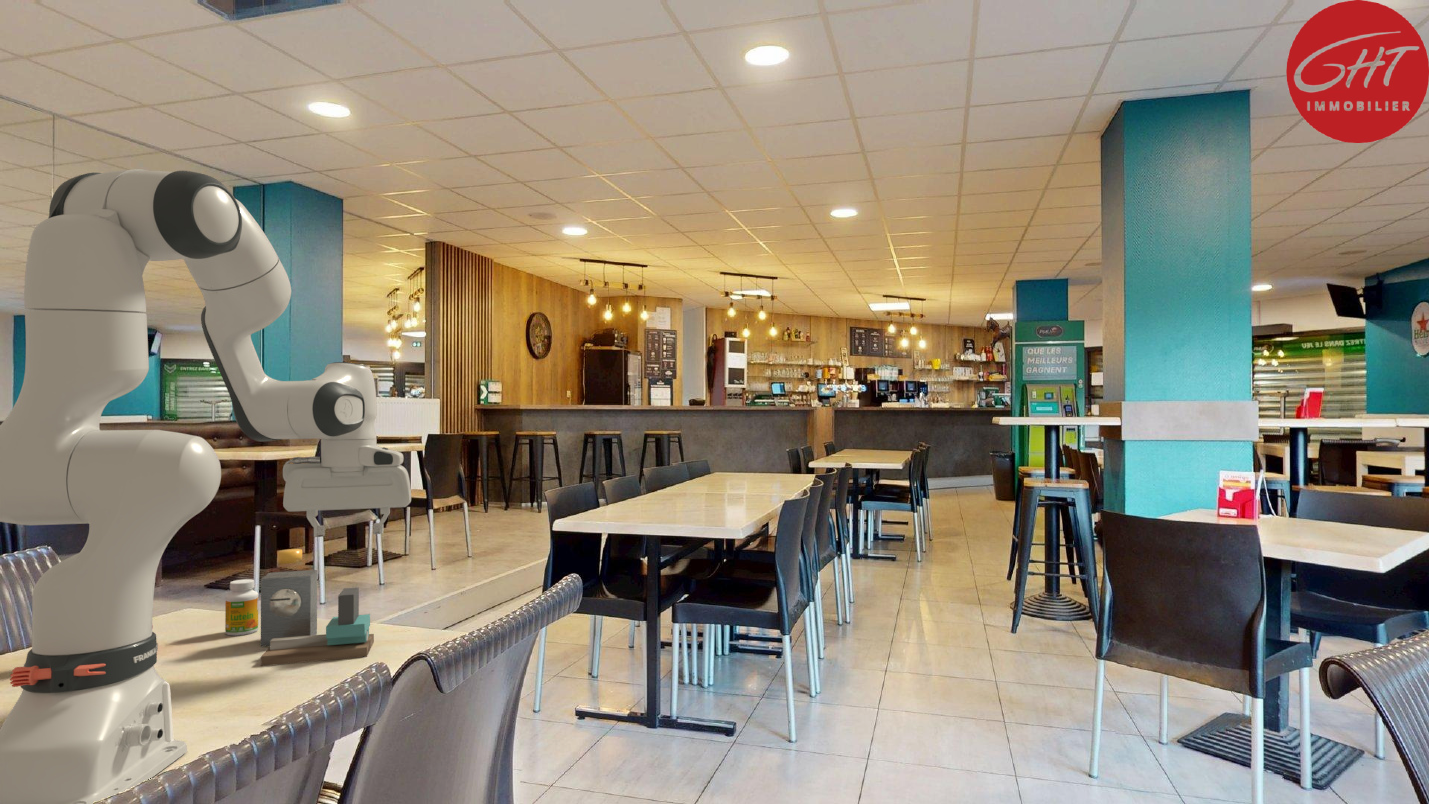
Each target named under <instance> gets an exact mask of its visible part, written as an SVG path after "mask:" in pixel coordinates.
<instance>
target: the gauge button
mask: <svg viewBox="0 0 1429 804" xmlns="http://www.w3.org/2000/svg"><path fill="white" fill-rule="evenodd" d="M276 552H277V558H276V559H277V564H280V565H283V564H284V565H286V564H295V563H301V562H303V549H302V548H291V549H290V548H289V549H282V550H281V549H280V550H277V551H276Z"/></svg>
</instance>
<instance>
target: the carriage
mask: <svg viewBox="0 0 1429 804" xmlns="http://www.w3.org/2000/svg"><path fill="white" fill-rule="evenodd" d="M359 594H360V587H346V588H343V589H342V590H341V591H340V593H339V594H338V596H337V598H338V599H337V601H338V603H337V604H338V605H337V609H338V610H337V613H338V614H337V616H333V617H332V618H331V620H330V621H329V622H328V623H327V624H326V626H325V634H326V639H327V645H338V644H350V643H362V642H366V641H367V631H368V637H369V634H370V627H371V614H370V613H369V614H366V613H365V614H359V613H360V612H359V611H360V609H359V608H360V598H359V597H360V596H359Z"/></svg>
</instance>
